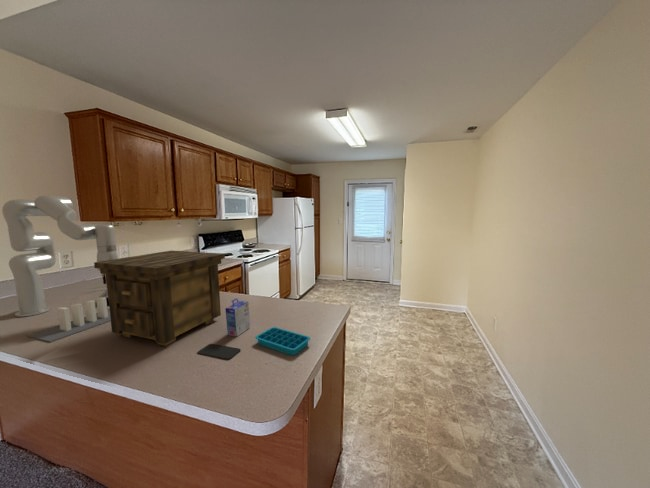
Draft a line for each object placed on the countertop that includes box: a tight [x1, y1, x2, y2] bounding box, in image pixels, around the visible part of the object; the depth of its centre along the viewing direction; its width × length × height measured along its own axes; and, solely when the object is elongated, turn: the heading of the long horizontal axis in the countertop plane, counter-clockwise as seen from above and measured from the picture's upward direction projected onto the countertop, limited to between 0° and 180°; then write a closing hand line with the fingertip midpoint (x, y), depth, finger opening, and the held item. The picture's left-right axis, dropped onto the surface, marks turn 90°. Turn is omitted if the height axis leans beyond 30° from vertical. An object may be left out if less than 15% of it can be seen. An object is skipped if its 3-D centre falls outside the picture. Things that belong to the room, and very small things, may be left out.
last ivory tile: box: [57, 306, 71, 331], centre depth 117 cm, size 5×2×10 cm, turn 71°
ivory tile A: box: [95, 296, 108, 318], centre depth 131 cm, size 5×2×10 cm, turn 71°
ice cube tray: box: [254, 326, 311, 356], centre depth 104 cm, size 12×20×3 cm, turn 59°
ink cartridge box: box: [224, 297, 251, 337], centre depth 115 cm, size 10×6×14 cm, turn 161°
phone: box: [197, 343, 242, 361], centre depth 99 cm, size 7×1×15 cm
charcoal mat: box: [26, 308, 111, 343], centre depth 125 cm, size 17×33×1 cm, turn 161°
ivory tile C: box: [70, 302, 85, 326], centre depth 122 cm, size 5×2×10 cm, turn 71°
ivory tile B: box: [83, 299, 97, 322], centre depth 127 cm, size 5×2×10 cm, turn 71°
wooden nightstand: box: [93, 250, 226, 347], centre depth 118 cm, size 35×35×33 cm
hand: (110, 283), depth 135 cm, fingers closed on terracotta tile, 4 cm apart
